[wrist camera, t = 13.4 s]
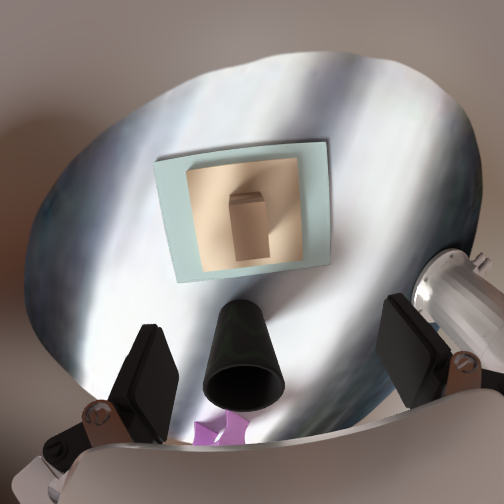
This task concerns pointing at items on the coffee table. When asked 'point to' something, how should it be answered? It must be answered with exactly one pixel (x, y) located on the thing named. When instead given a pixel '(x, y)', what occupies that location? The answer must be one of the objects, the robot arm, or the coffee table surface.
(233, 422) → the toy chair
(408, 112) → the coffee table surface
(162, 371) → the robot arm
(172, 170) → the mat
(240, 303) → the cup
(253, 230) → the lid
